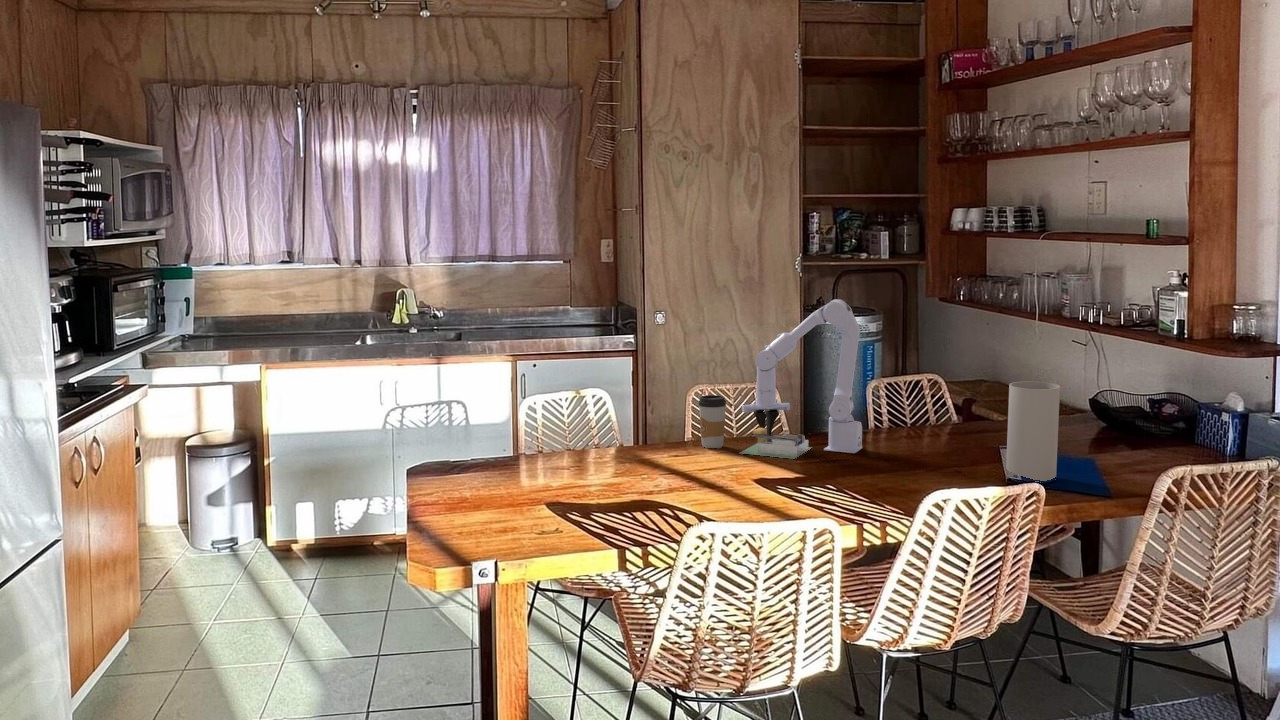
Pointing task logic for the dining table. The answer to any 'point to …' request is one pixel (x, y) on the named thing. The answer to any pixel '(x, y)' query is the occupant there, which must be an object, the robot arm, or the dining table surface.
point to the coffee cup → (712, 420)
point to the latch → (760, 431)
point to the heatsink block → (784, 446)
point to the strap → (775, 437)
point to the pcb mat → (754, 451)
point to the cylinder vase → (1033, 429)
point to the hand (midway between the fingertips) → (765, 434)
